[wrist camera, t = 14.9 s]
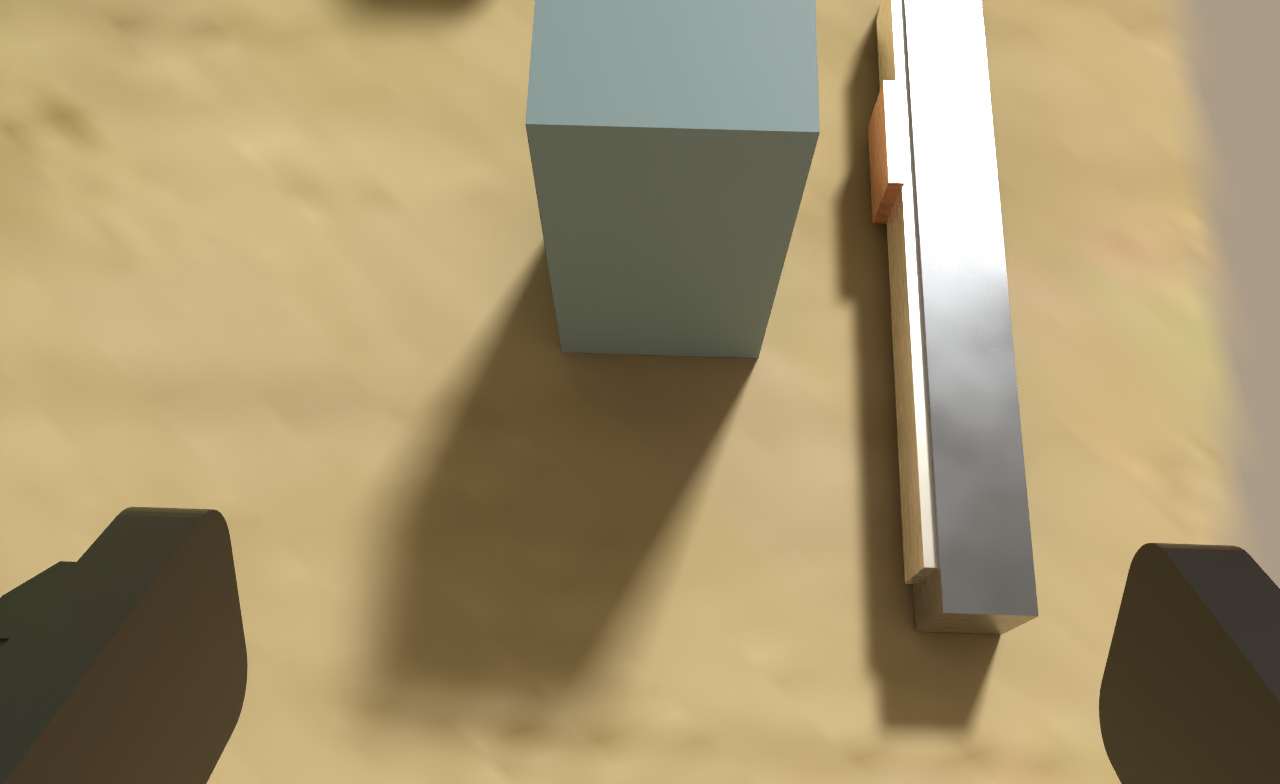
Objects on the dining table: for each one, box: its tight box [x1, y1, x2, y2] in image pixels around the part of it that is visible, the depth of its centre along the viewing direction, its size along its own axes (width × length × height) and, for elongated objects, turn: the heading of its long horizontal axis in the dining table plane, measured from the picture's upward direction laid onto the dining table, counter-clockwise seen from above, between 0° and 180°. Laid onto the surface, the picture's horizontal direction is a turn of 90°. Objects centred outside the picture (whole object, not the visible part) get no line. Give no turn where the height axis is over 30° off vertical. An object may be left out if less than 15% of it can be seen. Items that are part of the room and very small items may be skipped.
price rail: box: [868, 0, 1038, 634], centre depth 28 cm, size 18×3×2 cm, turn 178°
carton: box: [526, 0, 820, 358], centre depth 24 cm, size 5×4×10 cm
